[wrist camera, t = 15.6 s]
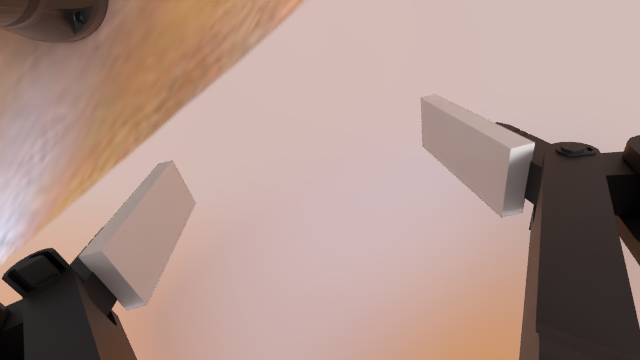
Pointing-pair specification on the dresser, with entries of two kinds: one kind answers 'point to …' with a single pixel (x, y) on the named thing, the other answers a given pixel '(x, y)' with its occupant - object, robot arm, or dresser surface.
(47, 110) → the dresser surface
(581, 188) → the robot arm
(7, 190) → the dresser surface
